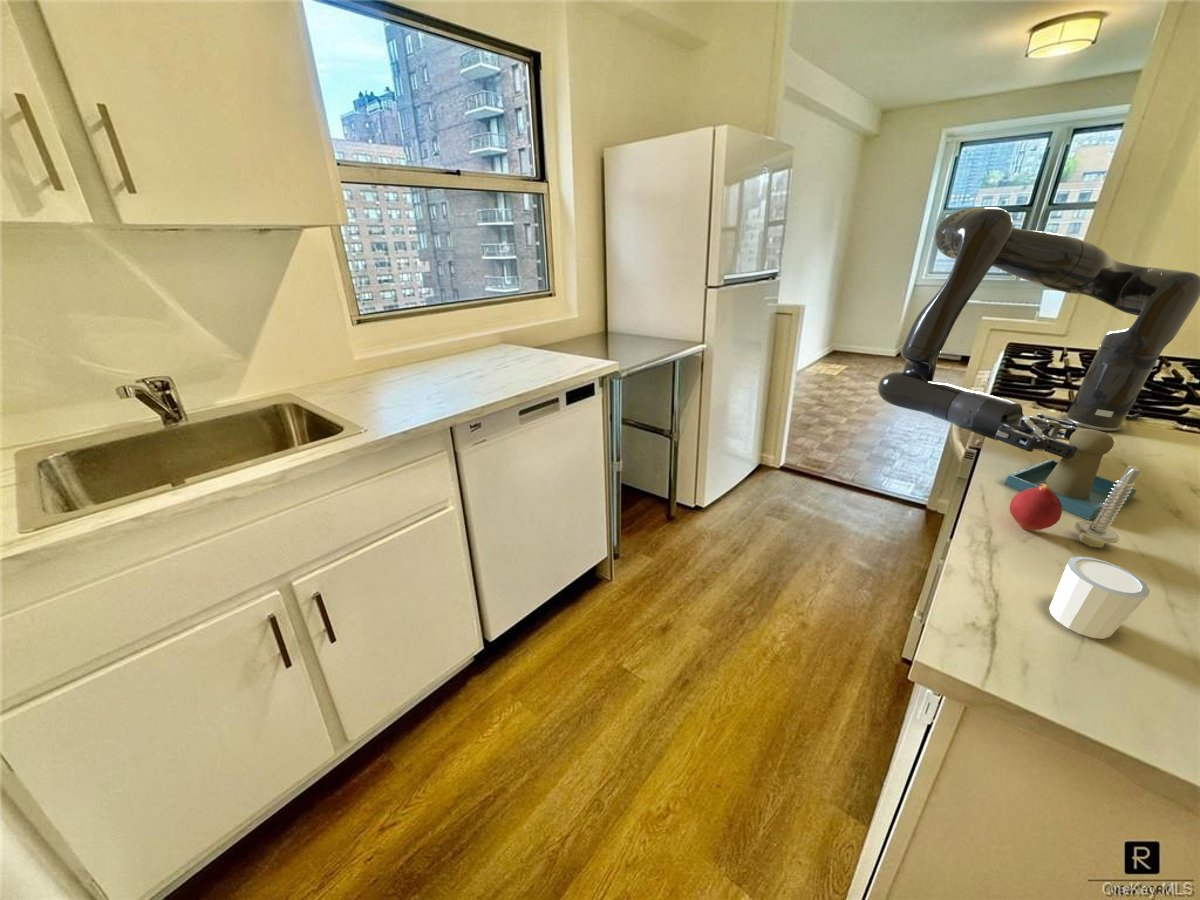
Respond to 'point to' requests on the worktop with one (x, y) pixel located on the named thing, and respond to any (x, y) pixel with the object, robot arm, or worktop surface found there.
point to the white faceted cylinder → (1096, 597)
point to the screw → (1107, 513)
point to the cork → (1080, 464)
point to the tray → (1076, 506)
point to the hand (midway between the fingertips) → (1087, 448)
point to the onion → (1036, 508)
